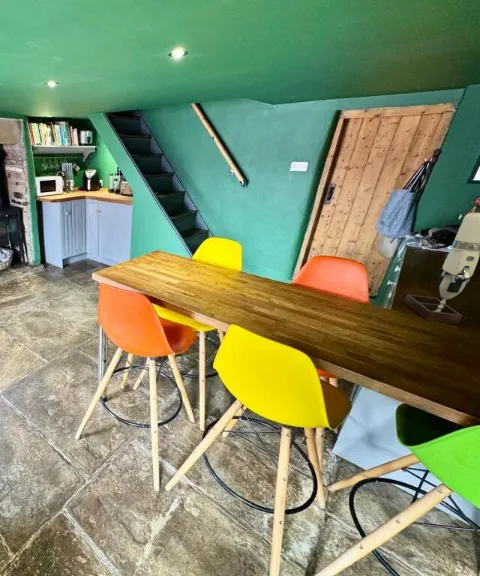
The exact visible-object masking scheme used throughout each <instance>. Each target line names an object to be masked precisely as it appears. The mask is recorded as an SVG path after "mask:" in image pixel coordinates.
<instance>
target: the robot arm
mask: <svg viewBox="0 0 480 576" xmlns="http://www.w3.org/2000/svg"><path fill="white" fill-rule="evenodd" d="M479 259H480V212H469V213H467V214H465V215H464V217H463V219H462V222H461V224H460V226H459V228H458V231H457V233H456V236H455V238H454V240H453V242H452V244H451V247H450V251H449V252H448V254H447V256H446V258H445V260H444V262H443V265H442V271H441V274H440V278H439V280H438V282H437V285H436V286H438V287H440V284H441V282H442V280H443V278H444V275H443V274H450V275H453V280H452V282H450V284H449V286H448V288H447V292H452V293H458V292H459V290H460V288H461V286H462V284H463V283H464V282H465V281H466V280H467V279H470V278H471V277H472V276H473V275H474V272H475V269H476V267H477V265H478V262H479ZM457 277H461V278H458V279H457Z"/></svg>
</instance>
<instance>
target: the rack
mask: <svg viewBox="0 0 480 576" xmlns="http://www.w3.org/2000/svg"><path fill="white" fill-rule="evenodd" d="M441 301H442V300H440V299H439V298H437V297H432V296H424V295H415V294H409V293H408V294H406V297H405V299H404V301H403V304H404V305H405V306H407V307H406V308H407V309H408V310H412V311H413V310H414V311H415V312H416V313H417V314H418V315H420V317H422V319H423V320H427V321H432V322H437V323H444V324H452V325H459V324H460V322H461V320H462V317H463V315H462V314H461V313H460V312H458V311H456V310H455V309H453V308H452V307H450V305H447V304H444V305H443V307H444V308H442V309H441V312H436V311H435V310H437V309H438V306H439V305H440V302H441Z"/></svg>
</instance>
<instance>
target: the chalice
mask: <svg viewBox="0 0 480 576" xmlns="http://www.w3.org/2000/svg"><path fill="white" fill-rule="evenodd" d="M443 275H444V278H443V280H442V282H441V284H440V286H439V296H440V297H441V299H442V300H440V301H441V302H440V305H439V306H438V309H437V310H435V311H436V312H441V309H442V308H444V307H443V305H444V304H446V301H447V300H451V299H453V298H455V297H456V296H458V295H459V294H461V292H463V290H464V289H465V287H466V285H467V284H468V282H470V281H471V279H470V278H469V279H467V280H466V281H465V282H464V283H463V284H462V286H461V288H460V290H459V292H458V293H452V292H447V288H448V286H449V284H450V282H452V280H453V275H450V274H443ZM458 278H461V277H457V279H458ZM446 305H447V304H446Z"/></svg>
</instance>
